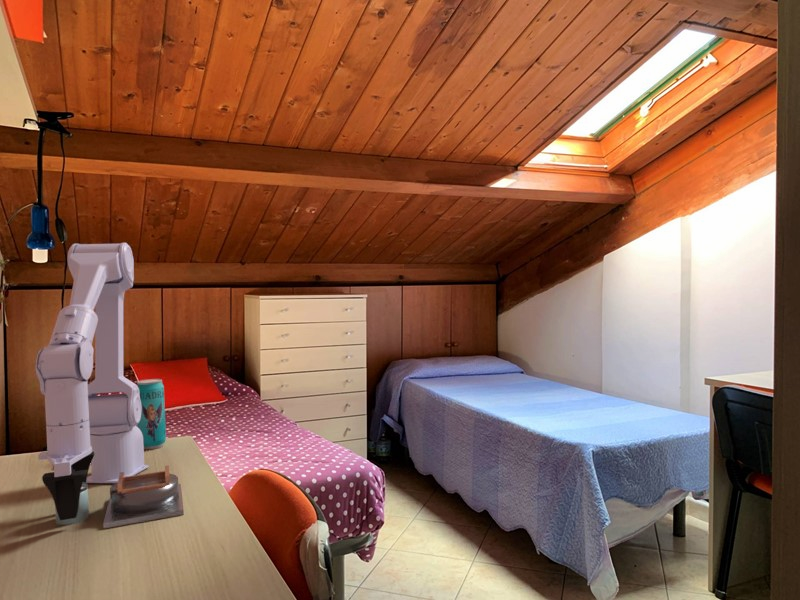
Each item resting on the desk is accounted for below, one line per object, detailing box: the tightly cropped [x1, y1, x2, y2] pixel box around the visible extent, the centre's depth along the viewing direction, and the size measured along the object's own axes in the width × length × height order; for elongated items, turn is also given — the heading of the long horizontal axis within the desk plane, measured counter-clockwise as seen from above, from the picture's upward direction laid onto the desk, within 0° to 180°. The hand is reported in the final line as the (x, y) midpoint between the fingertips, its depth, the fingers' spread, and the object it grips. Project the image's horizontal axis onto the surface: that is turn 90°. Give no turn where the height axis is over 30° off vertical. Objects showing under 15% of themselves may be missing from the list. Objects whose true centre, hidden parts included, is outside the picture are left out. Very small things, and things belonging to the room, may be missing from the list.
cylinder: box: [54, 482, 90, 526], centre depth 87 cm, size 4×4×5 cm
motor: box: [102, 465, 185, 530], centre depth 90 cm, size 13×11×5 cm
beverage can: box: [136, 378, 167, 450], centre depth 126 cm, size 6×6×15 cm
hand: (72, 509), depth 87 cm, fingers open, 7 cm apart
